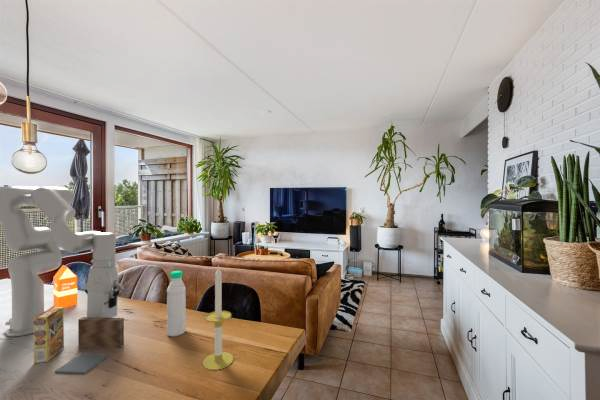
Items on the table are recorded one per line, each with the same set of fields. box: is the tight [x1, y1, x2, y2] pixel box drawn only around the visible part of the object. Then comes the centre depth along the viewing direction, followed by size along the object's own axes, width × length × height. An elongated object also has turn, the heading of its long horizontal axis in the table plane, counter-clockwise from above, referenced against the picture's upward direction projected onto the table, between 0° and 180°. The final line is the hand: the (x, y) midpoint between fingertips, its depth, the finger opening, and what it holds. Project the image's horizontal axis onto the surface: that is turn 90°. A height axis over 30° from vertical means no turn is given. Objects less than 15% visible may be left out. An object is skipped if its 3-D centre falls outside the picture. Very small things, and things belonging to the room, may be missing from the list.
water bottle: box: [166, 270, 187, 337], centre depth 111 cm, size 7×7×25 cm
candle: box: [202, 264, 234, 371], centre depth 91 cm, size 10×10×32 cm
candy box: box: [33, 306, 65, 364], centre depth 94 cm, size 9×4×15 cm, turn 13°
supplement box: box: [86, 287, 119, 318], centre depth 110 cm, size 7×7×13 cm
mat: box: [54, 352, 111, 375], centre depth 90 cm, size 10×10×1 cm
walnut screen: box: [77, 316, 125, 349], centre depth 101 cm, size 16×2×10 cm, turn 87°
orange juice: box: [52, 264, 78, 309], centre depth 140 cm, size 8×9×20 cm
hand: (102, 306), depth 110 cm, fingers closed on supplement box, 7 cm apart
